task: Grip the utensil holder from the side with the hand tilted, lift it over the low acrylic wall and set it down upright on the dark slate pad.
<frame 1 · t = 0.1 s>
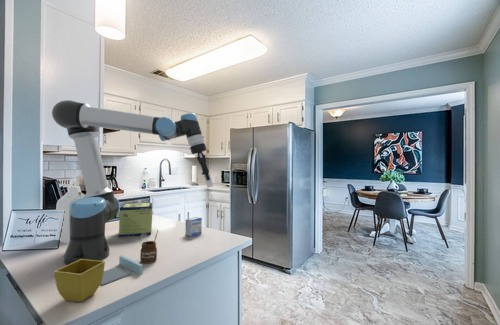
hand: (209, 185, 118), 28 cm above the counter, tool tilted 20°, fingers open, 13 cm apart
milk: (74, 238, 118), on the counter
protein box: (136, 233, 127), on the counter
utensil holder: (148, 261, 93), on the counter
acrylic wall: (130, 268, 86), on the counter
flower pot: (80, 297, 68), on the counter
medicine box: (193, 234, 128), on the counter
slate pad: (110, 276, 80), on the counter
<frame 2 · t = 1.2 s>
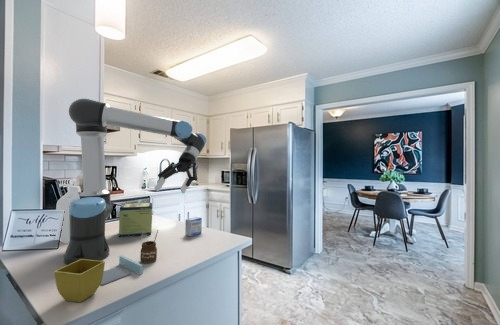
hand: (168, 190, 104), 26 cm above the counter, tool tilted 45°, fingers open, 13 cm apart
nothing on the counter moved.
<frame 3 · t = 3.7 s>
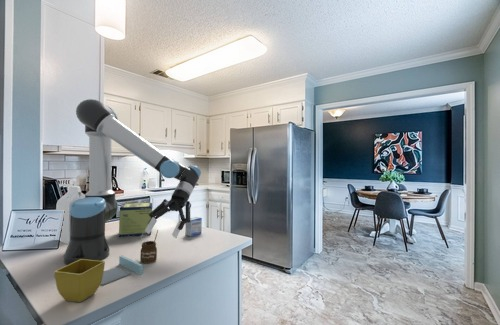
hand: (160, 234, 97), 9 cm above the counter, tool tilted 45°, fingers open, 13 cm apart
nothing on the counter moved.
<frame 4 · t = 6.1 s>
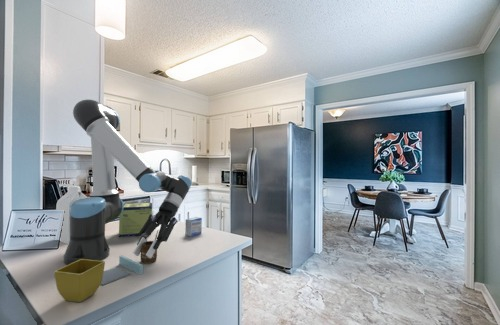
hand: (141, 255, 90), 3 cm above the counter, tool tilted 45°, fingers closed on utensil holder, 5 cm apart
utensil holder: (149, 261, 93), on the counter, touching gripper
everything else where it was.
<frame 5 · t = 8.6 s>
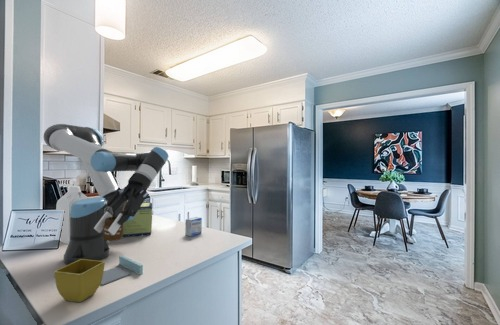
hand: (103, 231, 77), 16 cm above the counter, tool tilted 45°, fingers closed on utensil holder, 5 cm apart
utensil holder: (113, 239, 81), point 12 cm above the counter, touching gripper
everything else where it was.
when the fingers open (5 cm above the counter, at t = 11.1 s): utensil holder stays where it is, resting on slate pad.
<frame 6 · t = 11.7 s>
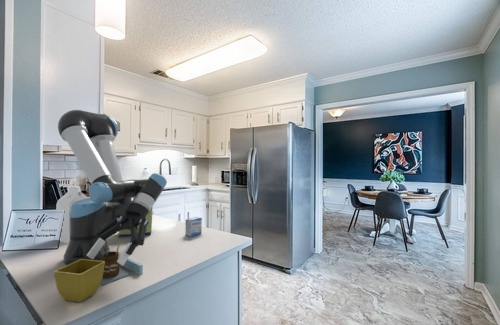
hand: (104, 260, 78), 6 cm above the counter, tool tilted 45°, fingers open, 13 cm apart
utensil holder: (110, 275, 81), resting on slate pad
everything else where it was.
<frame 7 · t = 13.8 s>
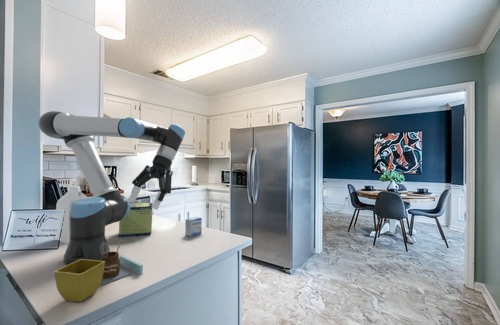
hand: (142, 205, 95), 22 cm above the counter, tool tilted 25°, fingers open, 13 cm apart
nothing on the counter moved.
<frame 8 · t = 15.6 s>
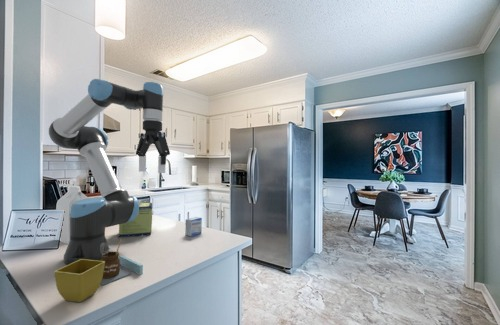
hand: (151, 172, 98), 35 cm above the counter, tool pointing down, fingers open, 13 cm apart
nothing on the counter moved.
at the end: utensil holder inside the target area on the slate pad (0.1 cm from its centre), point 0.2 cm above the slate pad's base; utensil holder tilted 0°; the gripper is holding nothing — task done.
